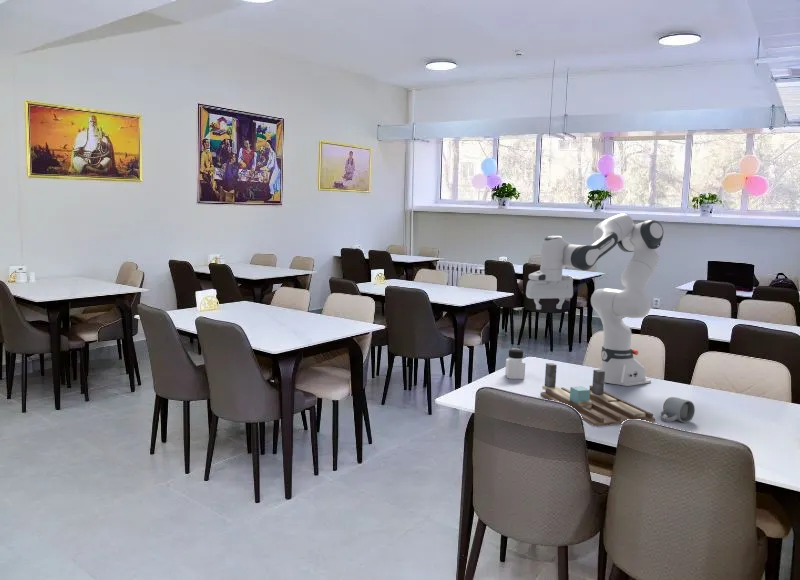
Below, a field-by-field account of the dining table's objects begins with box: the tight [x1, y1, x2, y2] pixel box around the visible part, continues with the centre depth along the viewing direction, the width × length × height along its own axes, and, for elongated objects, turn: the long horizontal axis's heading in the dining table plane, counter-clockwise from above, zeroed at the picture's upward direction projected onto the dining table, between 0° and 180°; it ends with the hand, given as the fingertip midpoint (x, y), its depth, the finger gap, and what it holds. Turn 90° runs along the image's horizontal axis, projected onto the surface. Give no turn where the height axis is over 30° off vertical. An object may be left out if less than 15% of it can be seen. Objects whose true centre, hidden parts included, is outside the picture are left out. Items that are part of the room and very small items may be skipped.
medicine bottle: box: [504, 348, 526, 380], centre depth 275 cm, size 7×7×12 cm
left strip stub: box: [591, 369, 617, 402], centre depth 242 cm, size 5×10×10 cm, turn 18°
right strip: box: [541, 362, 592, 408], centre depth 243 cm, size 5×26×10 cm, turn 18°
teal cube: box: [569, 385, 590, 404], centre depth 235 cm, size 5×5×5 cm
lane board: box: [540, 385, 656, 427], centre depth 236 cm, size 24×36×3 cm, turn 18°
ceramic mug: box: [659, 396, 696, 424], centre depth 225 cm, size 11×8×8 cm
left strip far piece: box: [610, 401, 646, 417], centre depth 230 cm, size 5×14×1 cm, turn 18°
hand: (548, 309), depth 264 cm, fingers open, 8 cm apart
